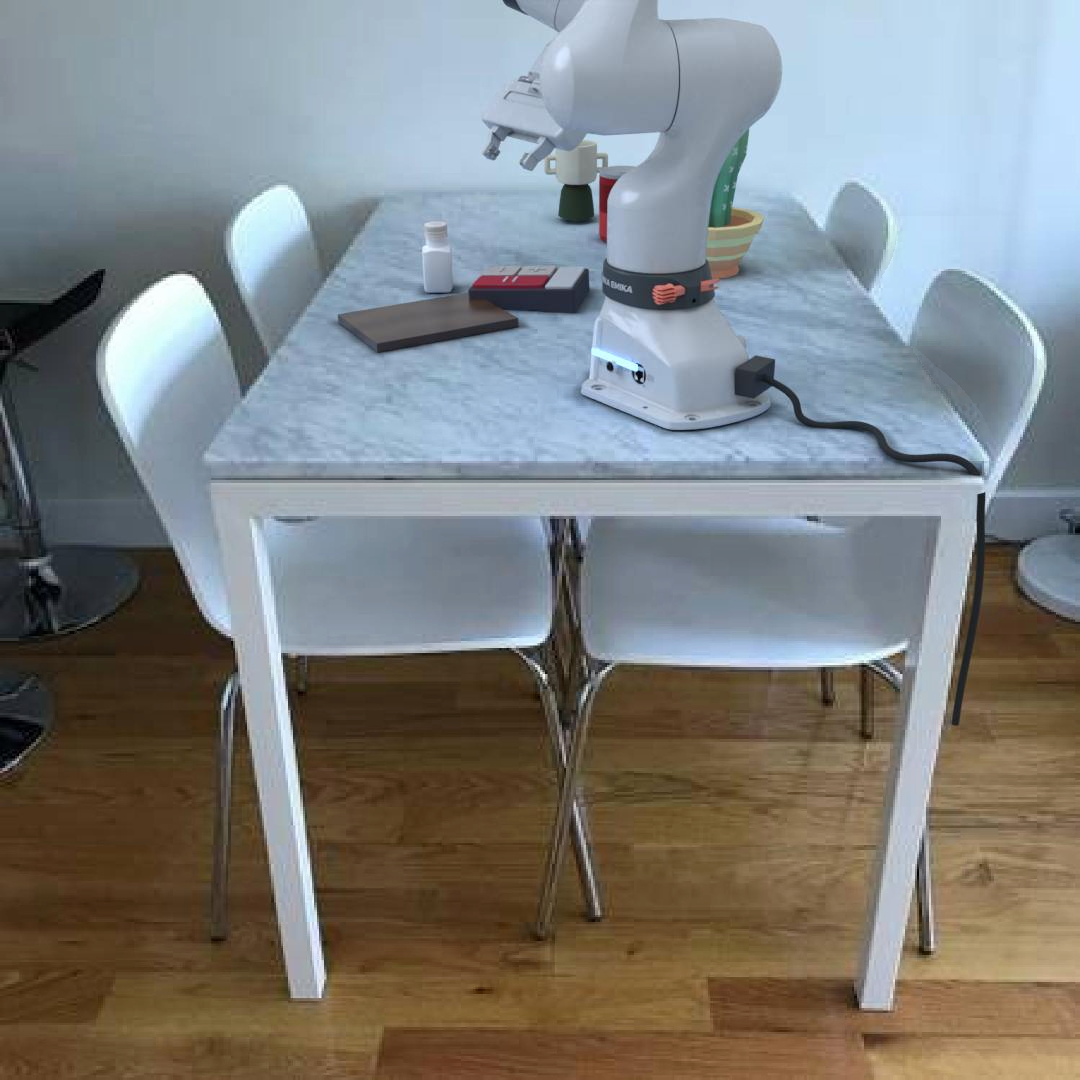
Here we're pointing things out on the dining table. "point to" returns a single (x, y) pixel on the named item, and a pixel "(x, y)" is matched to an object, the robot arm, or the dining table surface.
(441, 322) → the board
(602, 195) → the canned food
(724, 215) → the potted cactus
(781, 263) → the dining table surface
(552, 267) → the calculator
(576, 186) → the trophy
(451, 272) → the pepper shaker
